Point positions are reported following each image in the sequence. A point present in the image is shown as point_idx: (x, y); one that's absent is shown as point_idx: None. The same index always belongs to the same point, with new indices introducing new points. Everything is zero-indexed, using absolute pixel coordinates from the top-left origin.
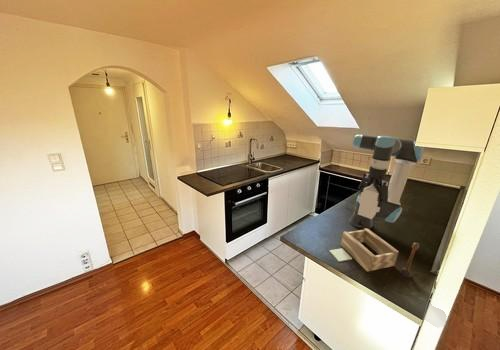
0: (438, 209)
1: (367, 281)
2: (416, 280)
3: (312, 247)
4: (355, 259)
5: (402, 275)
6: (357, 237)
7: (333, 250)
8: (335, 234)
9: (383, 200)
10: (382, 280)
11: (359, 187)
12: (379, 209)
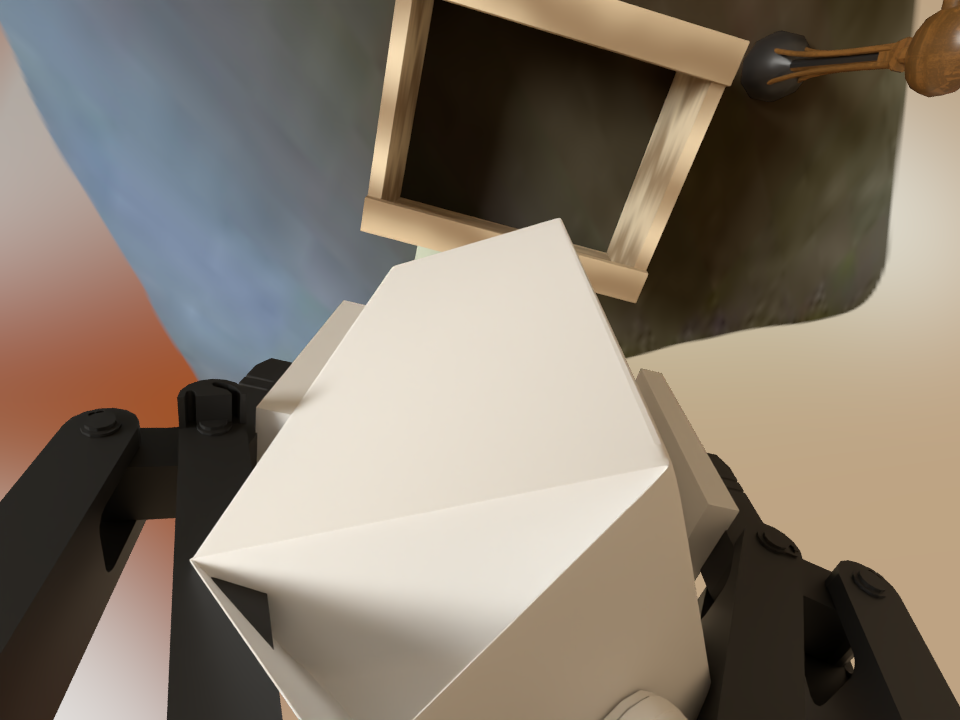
0: None
1: (645, 323)
2: None
3: None
4: None
5: (762, 100)
6: (411, 76)
7: None
8: (279, 129)
9: (824, 664)
10: (692, 251)
11: (114, 543)
12: (672, 398)
